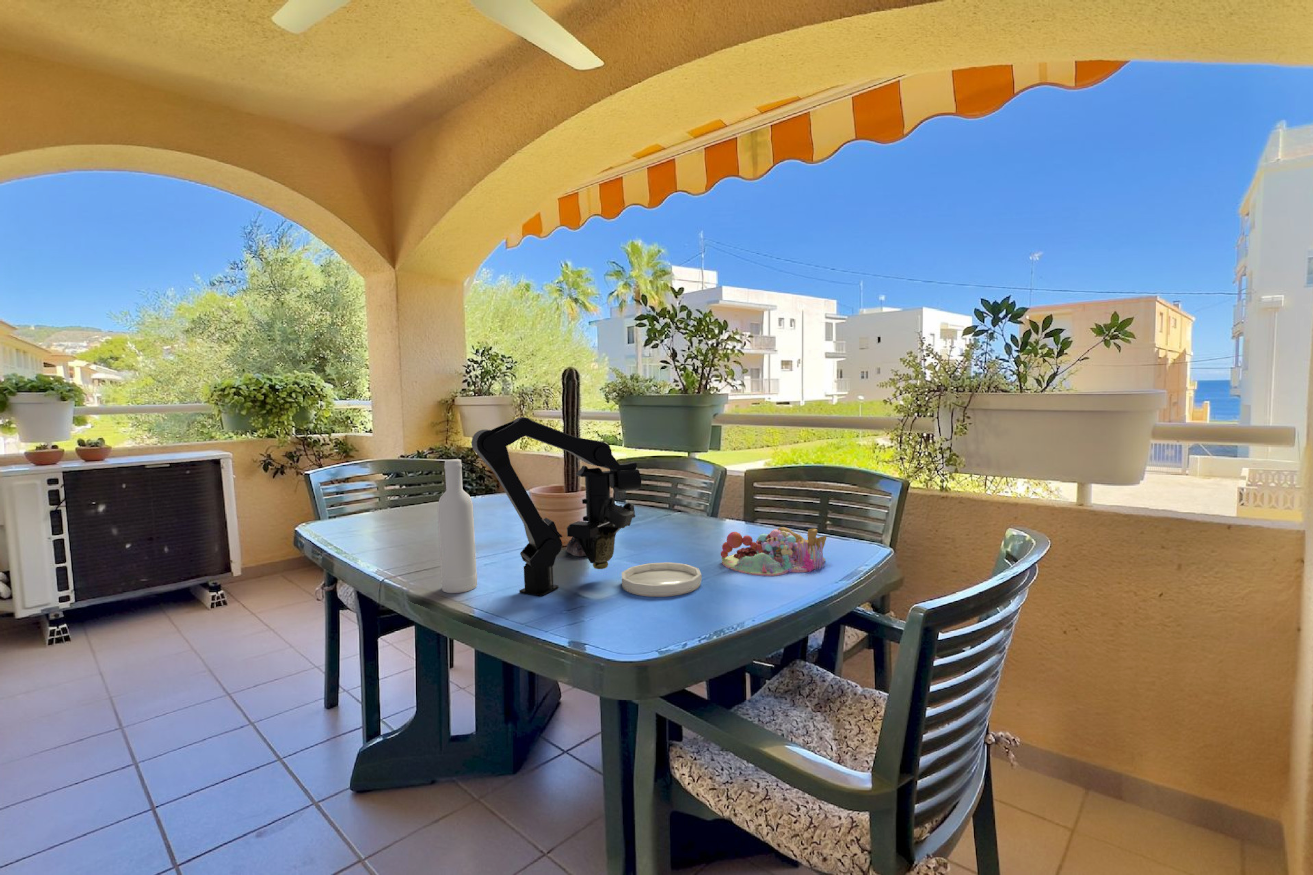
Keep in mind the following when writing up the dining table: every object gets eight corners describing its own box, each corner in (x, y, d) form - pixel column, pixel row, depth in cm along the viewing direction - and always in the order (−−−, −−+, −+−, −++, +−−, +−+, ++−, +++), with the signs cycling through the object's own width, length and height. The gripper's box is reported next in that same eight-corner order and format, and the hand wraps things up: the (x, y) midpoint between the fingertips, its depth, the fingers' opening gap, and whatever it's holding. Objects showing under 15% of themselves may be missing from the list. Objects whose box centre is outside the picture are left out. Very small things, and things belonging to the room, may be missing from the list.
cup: (621, 565, 145) (620, 532, 144) (606, 573, 138) (605, 539, 138) (595, 562, 148) (593, 530, 148) (578, 570, 141) (577, 536, 141)
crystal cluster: (556, 557, 168) (555, 523, 167) (581, 542, 181) (580, 509, 179) (599, 565, 163) (598, 529, 161) (621, 548, 176) (621, 515, 174)
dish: (681, 600, 126) (681, 589, 126) (607, 591, 134) (607, 580, 134) (712, 577, 143) (711, 566, 142) (644, 569, 150) (644, 559, 150)
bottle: (435, 589, 140) (428, 460, 138) (466, 580, 146) (459, 457, 144) (452, 595, 135) (445, 462, 133) (484, 587, 141) (477, 459, 139)
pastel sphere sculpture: (764, 547, 170) (763, 515, 170) (841, 561, 154) (841, 525, 153) (708, 566, 153) (707, 530, 152) (788, 584, 136) (788, 544, 136)
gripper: (607, 502, 130) (609, 573, 131) (646, 489, 147) (648, 552, 148) (564, 499, 135) (567, 568, 136) (606, 487, 152) (609, 549, 153)
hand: (600, 559), depth 143 cm, fingers closed on cup, 7 cm apart
